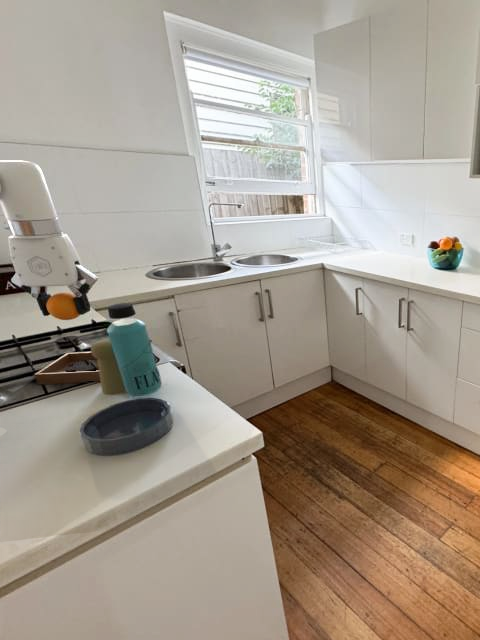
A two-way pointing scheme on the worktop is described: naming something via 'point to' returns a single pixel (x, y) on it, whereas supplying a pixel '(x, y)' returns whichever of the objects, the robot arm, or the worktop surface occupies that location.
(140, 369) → the beverage bottle
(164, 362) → the worktop surface
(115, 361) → the cork
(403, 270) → the worktop surface
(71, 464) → the worktop surface
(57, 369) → the tray
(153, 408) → the dish
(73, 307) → the tangerine
